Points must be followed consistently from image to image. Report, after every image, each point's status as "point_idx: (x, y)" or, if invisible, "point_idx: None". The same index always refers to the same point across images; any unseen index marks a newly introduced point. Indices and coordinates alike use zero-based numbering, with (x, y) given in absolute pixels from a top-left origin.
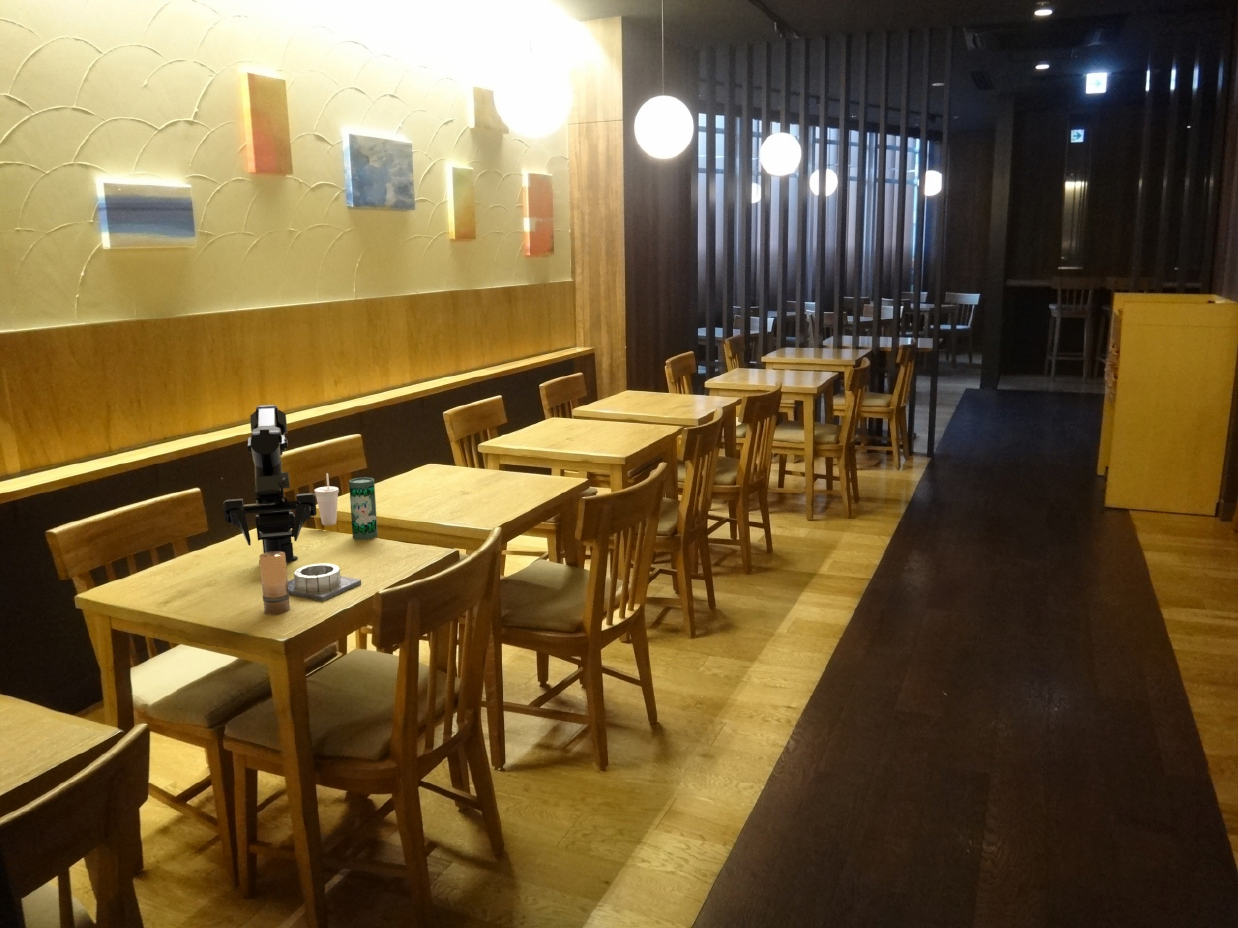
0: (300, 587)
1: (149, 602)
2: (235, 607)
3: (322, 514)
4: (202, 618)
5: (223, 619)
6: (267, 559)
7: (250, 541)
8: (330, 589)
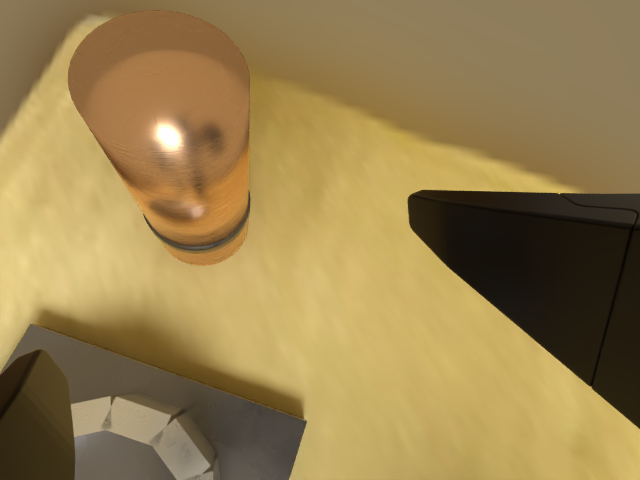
0: (167, 405)
1: None
2: (361, 238)
3: None
4: (406, 150)
5: (342, 144)
6: (167, 15)
7: (433, 243)
8: None
